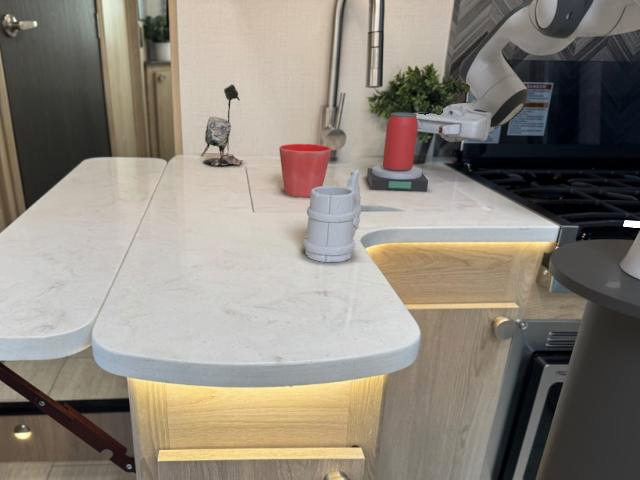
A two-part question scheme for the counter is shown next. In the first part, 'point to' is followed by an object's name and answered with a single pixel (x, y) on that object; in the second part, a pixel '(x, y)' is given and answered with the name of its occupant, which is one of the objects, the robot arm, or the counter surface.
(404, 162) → the beer can
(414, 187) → the kitchen scale
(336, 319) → the counter surface
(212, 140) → the grey tall irregular piece
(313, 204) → the mug
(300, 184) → the flower pot
